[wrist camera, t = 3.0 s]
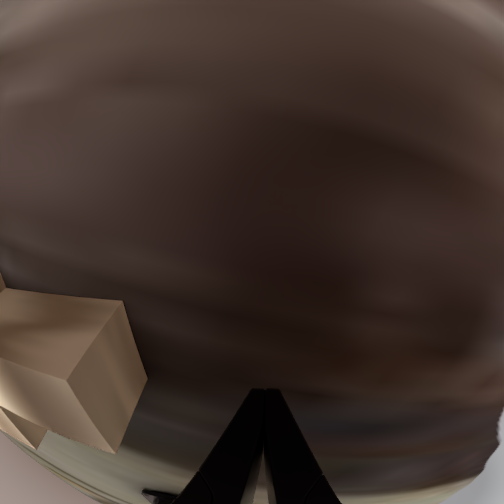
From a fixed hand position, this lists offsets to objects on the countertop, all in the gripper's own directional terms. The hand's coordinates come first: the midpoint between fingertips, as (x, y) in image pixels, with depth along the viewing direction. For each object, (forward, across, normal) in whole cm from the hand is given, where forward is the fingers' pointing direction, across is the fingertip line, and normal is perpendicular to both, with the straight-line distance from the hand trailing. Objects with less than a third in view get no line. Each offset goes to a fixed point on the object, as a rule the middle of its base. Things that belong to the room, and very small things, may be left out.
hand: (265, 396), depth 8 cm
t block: (+2, +10, 0) cm, 11 cm away
